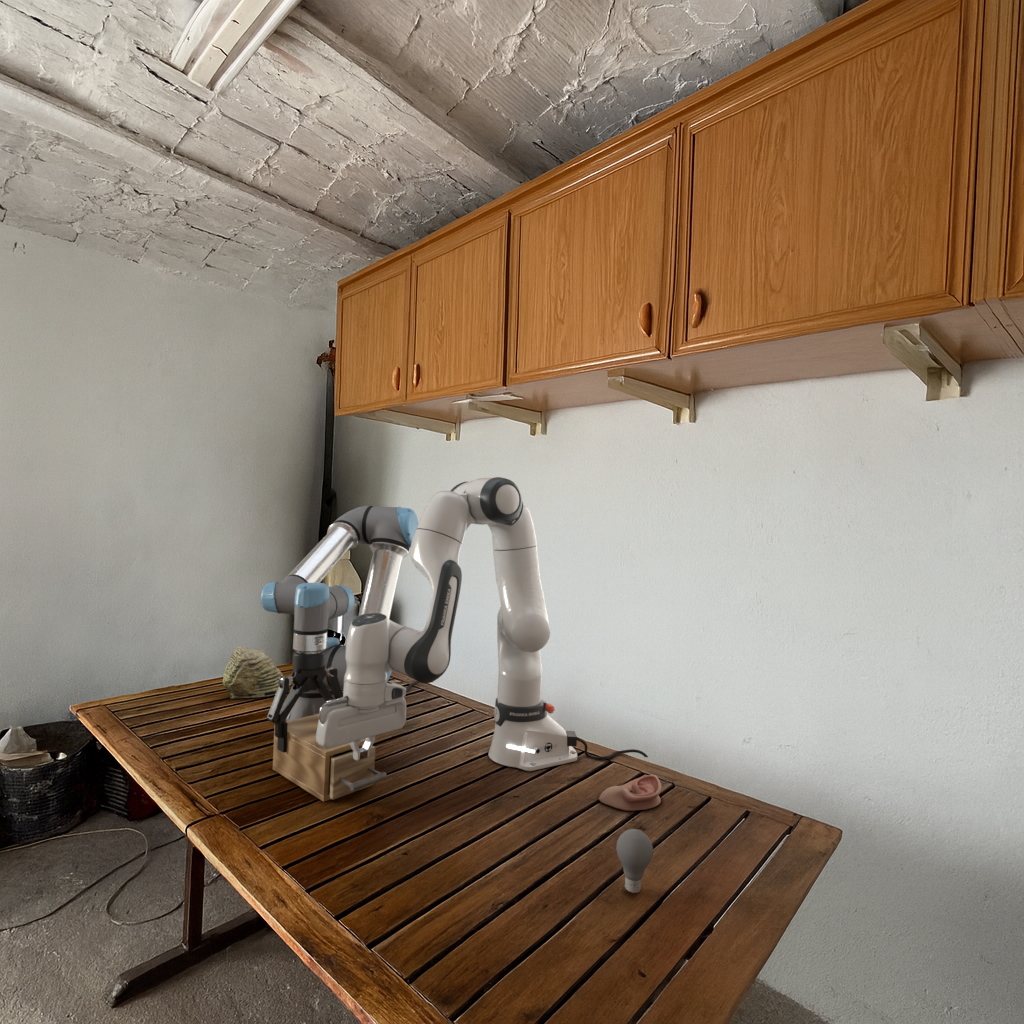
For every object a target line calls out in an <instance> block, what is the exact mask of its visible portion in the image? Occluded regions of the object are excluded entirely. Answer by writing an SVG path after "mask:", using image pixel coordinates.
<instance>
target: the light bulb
mask: <svg viewBox="0 0 1024 1024" xmlns="http://www.w3.org/2000/svg"><path fill="white" fill-rule="evenodd" d="M615 849H616V854H617V857H618V859H619V861H620V863H621V865H622V867H623V873H624V874H623V875H624V876H625V878H624V888H625V890H627V891H628V892H630V893H634V894H635V893H639V892H640V891H641V889H642V887H641V886H642V879H643V877H644V875H645V871H646V868H647V867H648V866H649V864H650V863H651V861H652V859H653V855H654V847H653V843H652V841H651V838H649V836H648V835H647V834H646V833H645V832H643V831H642V830H641V829H636V828H629V829H627V830H625V831H623V832H622V833H621V834H620V835H619V837H618V839H617V841H616V847H615Z"/></svg>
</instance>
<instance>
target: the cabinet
mask: <svg viewBox="0 0 1024 1024" xmlns="http://www.w3.org/2000/svg"><path fill="white" fill-rule="evenodd" d="M318 721H319V714H315V715H311V716H307V717H303V718H299V719H295V720H291V721H287V723H288V726H287V752H284V753H283V752H281V751H280V750H278V749H277V745H278V737H276V736H275V724H274V725H273V729H274V730H273V750H272V751H273V752H272V770H273V771H274V772H276V773H278V774H279V775H281V776H282V777H284V778H286V779H287V780H288V781H290V782H292V783H293V784H295V785H297V786H298V787H300V788H301V789H303V790H304V791H305V792H307V793H309V794H311V795H312V796H314V797H315V798H316V799H318V800H320V801H322V802H323V803H325V802H327V801H330V800H332V799H331V798H330V791H328V790H329V764H330V756H332V755H335V754H338V753H341V752H345V751H348V750H351V749H352V748H351V746H350V744H349V743H347V744H344V745H340V746H336V747H333V748H329V749H326V748H323V747H322V746H320V745H319V744H318V743H317V742H316V732H317V726H318ZM365 740H366V739H362V740H361V741H360V745H358V747H361V746H363V745H364V742H365Z"/></svg>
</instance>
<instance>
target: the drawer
mask: <svg viewBox="0 0 1024 1024" xmlns="http://www.w3.org/2000/svg"><path fill="white" fill-rule="evenodd" d="M362 747H363V746H361V747H359V748H362ZM375 764H376V746H374V745H372V747H371V749H370V754H369V757H367V758H364V759H361V760H358V761H356V760H354V759H353V750H352V749H351V750H348V751H345V752H341V753H338V754H335V755H332V756H330V764H329V790H328V791H330V798H331V799H330V800H337V799H339V798H342V797H345V796H348V795H350V794H352V793H355V792H358V791H361V790H363V789H366V788H369V787H372V786H374V785H375V784H376V783H379V782H382V781H385V780H387V779H388V777H387V776H388V775H387V773H386V771H382V772H380V771H379V770H376V769H375V768H376V767H375V766H376V765H375Z"/></svg>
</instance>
